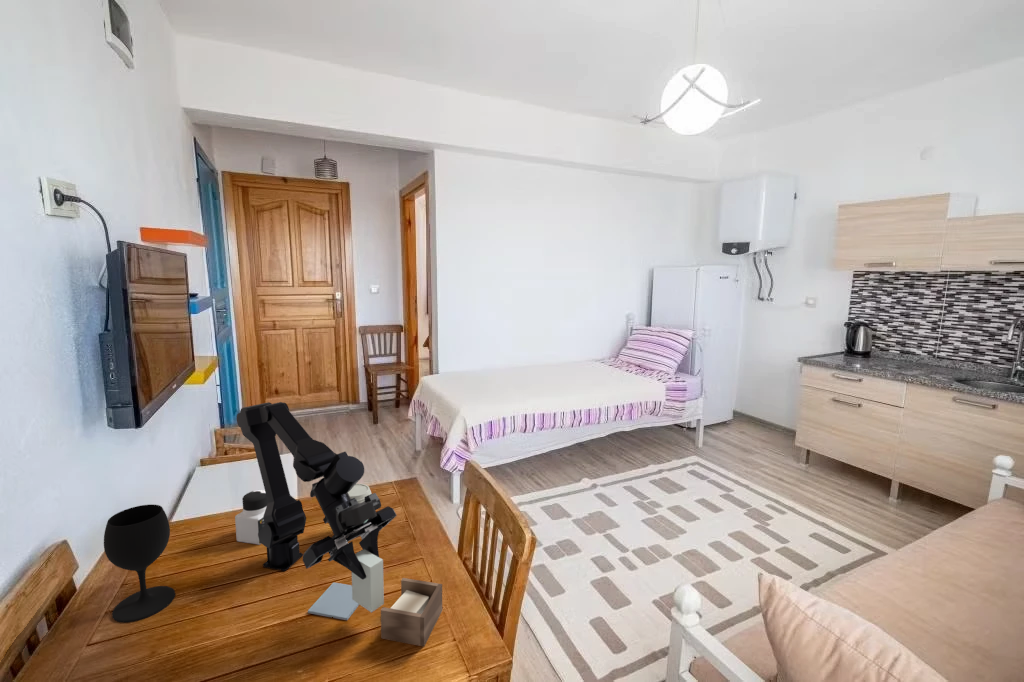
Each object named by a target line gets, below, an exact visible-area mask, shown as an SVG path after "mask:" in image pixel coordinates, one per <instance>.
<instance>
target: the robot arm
mask: <svg viewBox="0 0 1024 682" xmlns="http://www.w3.org/2000/svg"><path fill="white" fill-rule="evenodd" d="M239 411H240V412H237V414H236V423H237V425H238V427H239V428H240V430H241V434H242V436H243V437H245V438H246V439H247V440H249V442H251V443H252V444H253V449H254V452H255V456H256V460H257V464H258V468H259V473H260V475H261V481H262V483H263V484H262V485H263V488H264V489H263V490H265V492H266V496H267V500H268V504H267V507H266V510H265V513H264V516H263V518H264V524H265V525H264V526H263V527H262V529H261V530H260V531H259V533H258V537H259V542H260V543H261V544H260V545H263V546H264V547H266V559H267V560H266V561H265V562H264V563H263V564H262V567H263V568H264V569H271V570H278V571H283V572H284V571H287V570H289V569H290V568H291V567H292V566H293V565H294V564H295V563H296V562H298V561H299V560H300V559H301V558H302V563H303V565H304V567H305V569H309V568H311V567H313V566H315V565H317V564H319V563H320V562H322V560H323V558H324V555H326V554H329V556H330V557H329V558H328V559H327V561H328V562H331V561H334V562H336V563H337V564H339V565H341V566H343V567H345V568H346V569H348V570H349V571H350V572H351V573H352V572H353V573H354V574H356V575H357V576H358V577H360V578H361V579H362V580H363V579H365V578H366V574H365V572H364V569H363V567H362V565H361V564H360V562H359V560H358V558H357V556H356V552H355V551H354V550H355V549H354V542H353V540H354V539H356V538H358V537H360V538H361V540H360V541H358V542H359V543H358V545H360V548H361V550H363V549H365V550H367V551H369V552H370V553H372V554H374V555H376V556H377V557H379V558H380V553H379V544H378V543H379V542H378V541H379V540H378V537H379V533H380V531H381V530H382V529H383V528H385V527H386V526H387V525H388V524H389V523H391V522H392V521H393V520H394V519H395V518H396V517H397V516H398V515H397V513H396V511H395V510H394V508H393V507H391V506H389V505H388V506H384V508H382V509H381V507H382V503H381V499H380V498H379V496H378V495H377V493H376V492H373V493H372V494H370V495H368V496H366V497H365V501H364V502H362V503H358V502H357V500H356V499H355V498H353V499H351V498H350V496H349V494H348V492H349V491H350V490H351V489H352V488H353V487H354V486H355V484H358V482H359V481H360V480H361V479H362V478H363V476H364V474H365V466H364V464H363V462H362V461H361V460H360V459H358V458H357V457H355V456H353V455H352V456H351V455H348V454H347V451H343V452H340V453H336V452H334V451H333V450H332V449H331V448H330V447H329V446H328V445H327V444H326V443H324V442H322V441H319V440H316V439H313V438H312V437H311V435H310V434H309V433H308V432H307V431H306V429H305V428H304V427H303V426H302V425H301V423H300V422H299V421H298V420H297V419H296V416H294V414H293V413H292V412H291V411H290V408H289V406H288V404H287V403H286V402H281V401H280V402H274V403H272V402H269V401H267V402H264V403H263V402H262V403H259V404H254V405H249V406H244V407H241V408H240V410H239ZM276 436H278V438H279V439H280V441H281V442H282V443H283V444H284V446H285V447H286V449H287V450H288V451H289V452H290V453H291V455H292V458H293V461H292V462H293V463H292V467H293V469H294V471H295V473H296V476H297V477H298V478H299V479H300V480H301V481H302V482H305V483H307V482H312V481H314V480H317V479H319V480H318V481H316V482H314V483H312V484H311V489H310V492H309V494H310V495H309V497H310V498H314V497H315V499H316V501H317V502H318V505H319V507H320V508H321V511H322V513H323V515H324V517H323V519H322V521H323V523H324V524H327V523H328V526H329V527H330V530H331V531H332V533H333V535H332V536H330V535H328V536H326V537H323V538H321V539H319V540H317V541H315V542H313V543H312V544H311V545H309V547H308V548H307V549H306V550H305V551H304V552H301V551H300V542H299V540H298V538H299V537H298V536H299V535H301V534H304V532H305V527H306V522H307V516H306V513H305V511H304V509H303V503H302V502H301V500H300V499H298V500H297V499H295V497H294V496H292V495H291V493H290V488H289V485H288V482H287V478H286V474H285V470H284V466H283V462H282V458H281V454H280V449H279V445H278V443H277V438H276ZM320 478H321V479H320ZM379 509H380V510H379ZM366 520H367V522H365V521H366ZM364 522H365V523H364ZM357 531H358V532H357Z"/></svg>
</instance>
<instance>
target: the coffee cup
mask: <svg viewBox="0 0 1024 682" xmlns="http://www.w3.org/2000/svg"><path fill="white" fill-rule="evenodd" d="M348 494H349V496H350V498H351V499H353V498H355V499H356V500H357V502H358V503H362V502H364V501H365V497H366V496H368V495H370V494H373V493H372V491H371V489H370V486H369V485H367V484H364V483H356V484H355V486H354V487H353V488H352V489H351V490H350V491H349V492H348ZM365 522H367V520H366V521H365ZM365 522H364V523H365ZM357 532H358V531H357Z"/></svg>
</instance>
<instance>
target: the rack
mask: <svg viewBox="0 0 1024 682" xmlns="http://www.w3.org/2000/svg"><path fill="white" fill-rule="evenodd" d="M400 587H401V590H400V591H401V594H400V595H401V596H402V595H403V593H404V592H405V591H406V590H409V591H412V592H415V593H418V594H422V595H425V596H428V597H429V602H428V604H427V605H426V607H425V609H424V611H423V613H422V614H419V613H413V612H407V611H402V610H396V609H391V607H390V608H389V607H382V608H381V609H380V637H381V639H383V640H388V641H393V642H398V643H403V644H409V645H415V646H419V647H425V646H426V644H427V642H428V640H429V638H430V636H431V634H432V632H433V630H434V627H435V626H436V624H437V622H438V620H439V618H440V616H441V614H442V612H443V584H442V583H436V582H432V581H425V580H418V579H413V578H406V577H402V578H401V579H400ZM401 596H400V597H401Z"/></svg>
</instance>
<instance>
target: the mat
mask: <svg viewBox="0 0 1024 682" xmlns="http://www.w3.org/2000/svg"><path fill="white" fill-rule="evenodd" d="M359 606H360V604H358V603H357V602H355V601H354V600H352V584H345V583H340V582H332V583H331V585H330V586H329V587H328V588H327V589H326V590H325V591H324V592H323V593H322V594H321V596H320V597H319V598H318V599H317V600H316V601H315V602H314V603H313V604H312V605H311V606H310V608H308V610H307V613H308V614H312V615H316V616H323V617H328V618H332V617H333V618H332V619H338V620H344V621H348V620H349V619H350V617H351V616H352V615H353V613H355V611H356V610H357V609H358V607H359Z"/></svg>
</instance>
